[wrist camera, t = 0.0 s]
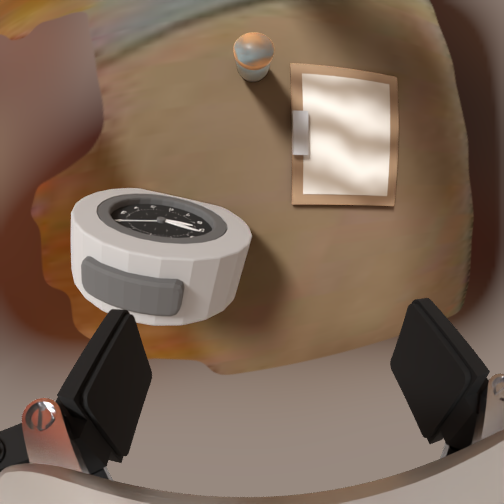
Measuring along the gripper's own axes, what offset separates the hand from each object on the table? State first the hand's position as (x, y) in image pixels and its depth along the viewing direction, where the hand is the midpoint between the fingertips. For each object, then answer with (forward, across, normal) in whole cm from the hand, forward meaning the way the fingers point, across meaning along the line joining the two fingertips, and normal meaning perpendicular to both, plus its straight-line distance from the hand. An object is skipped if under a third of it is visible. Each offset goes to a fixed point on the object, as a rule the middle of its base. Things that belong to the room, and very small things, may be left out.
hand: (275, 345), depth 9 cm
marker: (+32, 0, -16) cm, 36 cm away
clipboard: (+32, -13, -7) cm, 35 cm away
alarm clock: (+32, +12, +5) cm, 35 cm away
